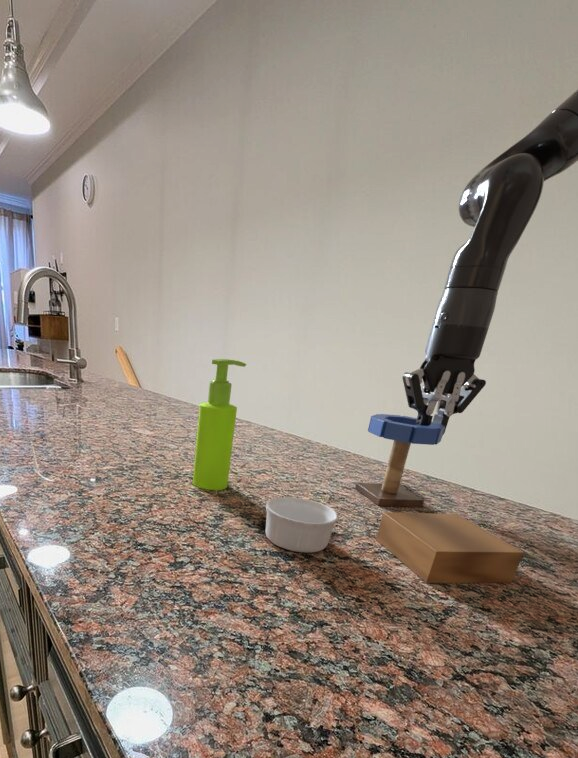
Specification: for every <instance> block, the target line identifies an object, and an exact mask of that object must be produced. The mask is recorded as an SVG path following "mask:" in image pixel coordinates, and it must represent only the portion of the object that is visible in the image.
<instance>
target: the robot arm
mask: <svg viewBox="0 0 578 758" xmlns="http://www.w3.org/2000/svg"><path fill="white" fill-rule="evenodd" d="M576 163H578V89H576V90H575V91H574V92H573V93H572V94H571V95H569V96H568V97H567V98H566V99H565V100H564V101H562V102H561V104H559V105H558V106H557V107H556V108H555V109H554V110H552V111H551V112H550V113H549V114H547V116H546V117H544V119H543V120H542V121H540V122H539V124H538V125H537V126H535V127H534V128H533V129H532V130H531V131H530V132H529V133H528V134H526V135H525V136H524V137H522V138H521V139H520V140H518V141H517V142H516V143H514V144H513V145H512V146H510V147H509V148H507V149H506V150H505V151H504V152H502V153H501V154H499V155H498V156H497V157H495V158H494V159H493V160H492V161H490V162H489V163H488V164H487V165H485V167H483V168H482V169H481V170H479V172H477V173H476V174H475V175H474V176H473V177H472V178H471V179H470V180H469V181H468V183H467V184H466V186H465V187H464V188H463V190H462V193H461V195H460V197H459V202H458V214H459V217H460V219H461V221H462V222H463V223H464V224H465V225H467V226H469V227H471V228H473V230H472V234H471V235H470V237H469V238H468V240H467V241H465V242H464V243H463V244H462V245H461V246H460V247H459V248H458V249H457V250H456V251H455V252H454V255H453V257H452V260H451V263H450V265H449V269H448V274H447V277H446V281H445V284H444V287H443V288H444V289H443V290H442V294H441V297H440V299H439V301H438V303H437V307H436V311H435V314H434V318H433V322H432V325H431V329H430V332H429V336H428V339H427V343H426V347H425V358H424V360H423V361H422V362H421V364H420V366H419V368H418V369H416V370H414V371H412V372H403V374H402V382H403V387H404V391H405V396H406V400H407V405H408V408H410V409H413V410H415V411H417V417H416V418H417V420H416V424H415V425H421V426H429V425H430V424H431V421H432V422H436V423H439V424H442V425H444V426H445V429H444V432H443V435H444V434H445V433H446V429H447V426H448V423H449V421H450V418H451V416H453V415H455V414H462V413H463V412H464V411H466V409H467V408H468V406H469V405H470V404H471V403H472V402H473V400H474V399H475V398H476V397H477V396H478V395H479V393H480V392H481V391H482V390H483V389H484V387H485V386H486V385H487V381H486V379H482V378H479V377H478V376H477V375H476V374H475V370H476V369H475V362H476V360H478V359H479V358H480V357H481V353H482V351H483V348H484V344H485V341H486V338H487V335H488V332H489V329H490V325H491V322H492V319H493V316H494V313H495V309H496V304H497V300H498V299H497V298H498V294H499V290H500V287H501V284H502V281H503V277H504V275H505V271H506V269H507V265H508V261H509V258H510V256H511V254H512V253H513V251H514V249H515V248H516V247H517V245H518V244H519V241H520V239H521V237H522V235H523V234H524V232H525V230H526V228H527V226H528V225H529V222H530V221H531V218H532V217H533V215H534V213H535V211H536V209H537V207H538V205H539V203H540V202H539V201H540V199H541V196H542V193H543V188H544V183H545V182H546V181H548V180H550V179H551V178H553V177H555V176H557V175H559V174H561V173H563V172H565V171H566V170H567V169H569V168H570V167H572V166H573V165H574V164H576ZM422 383H423V386H422V385H421V384H422ZM435 408H436V413H434V411H435ZM433 413H434V416H433V415H432V414H433Z"/></svg>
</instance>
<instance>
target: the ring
mask: <svg viewBox="0 0 578 758" xmlns="http://www.w3.org/2000/svg"><path fill="white" fill-rule="evenodd" d="M416 420H417V417H413V416H407V415H400V414H386V413H377V414H374V415H371V416H370V420H369V423H368V428H367V431H368V433H370V434H372V435H374V436H377V437H379V438H383V439H386V440H390V441H391V440H392V441H394V440H395V441H400V442H405V443H409V442H410V443H411V445H428V446H434V445H436V446H437V445H438V444H439V443H441V441H442V439H443V436H444V434H443V432H444V429H445V426H444V425H442V424H439V423H436V422H433V420H432V421H431V424H430V425H429V426H421V425H415V424H416Z"/></svg>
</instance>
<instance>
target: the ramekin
mask: <svg viewBox="0 0 578 758" xmlns="http://www.w3.org/2000/svg"><path fill="white" fill-rule="evenodd" d="M265 509H266V518H265V529H264V530H265V536H266V538H267V540H269V541H270V542H271V543H272V544H273V545H275V546H277V547H280V548H282V549H284V550H287V551H291V552H295V553H296V552H297V553H304V554H305V553H307V554H310V553H311V554H312V553H318V552H321V551H323V550H325V549H326V548H327V547H328V545H329V542H330V539H331V537H332V533H333V530H334V527H335V524H336V523H337V521H338V519H339V515H338V513H337V512H336V511H335V510H334V509H333V508H332V507H330V506H328V505H326V504H325V503H324V504H323V503H322V502H319V501H315V500H312V499H308V498H303V497H295V496H280V497H273V498H271V499H269V500H268V501H267V502H266V504H265Z"/></svg>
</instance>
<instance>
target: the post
mask: <svg viewBox="0 0 578 758" xmlns="http://www.w3.org/2000/svg"><path fill="white" fill-rule="evenodd" d="M411 445H412V443H410V442H409V443H405V442H400V441H395V440H393V442H392V446H391V450H390V454H389V458H388V461H387V465H386V470H385V473H384V477H383V481H382V483H373V482H356V483H355V486H354V490H355V491H357V492H359V493H360V494H361V495H362V496H364V497H366V499H369V501H371V502H372V503H374V504H375V505H377V506H378V507H408V508H409V507H410V508H411V507H412V508H413V507H414V508H422V507H423V506H424V503H425V500H424V499H423V498H421V497H419V496H418V495H416V494H414V493H412V492H411V491H409V490H407V489H406V488H404V487H403V486H401V485H400V484H401V481H402V476H403V474H404V470H405V465H406V462H407V458H408V456H409V451H410V449H411Z"/></svg>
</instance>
